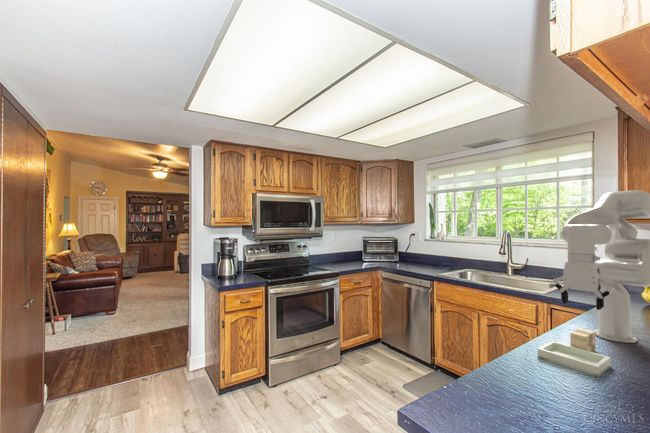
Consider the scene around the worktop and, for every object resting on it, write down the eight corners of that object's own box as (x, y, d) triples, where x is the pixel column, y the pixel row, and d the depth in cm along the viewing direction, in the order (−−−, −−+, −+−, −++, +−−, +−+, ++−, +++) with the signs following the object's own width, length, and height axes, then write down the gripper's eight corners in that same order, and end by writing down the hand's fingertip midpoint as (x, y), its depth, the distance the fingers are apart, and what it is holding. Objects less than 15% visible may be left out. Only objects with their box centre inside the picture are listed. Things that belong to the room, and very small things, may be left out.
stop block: (580, 346, 112) (579, 327, 112) (595, 351, 108) (595, 331, 108) (570, 352, 107) (570, 332, 107) (586, 357, 103) (586, 336, 104)
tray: (552, 349, 110) (552, 340, 110) (610, 366, 96) (610, 357, 96) (537, 357, 103) (537, 348, 103) (598, 377, 90) (598, 367, 90)
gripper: (616, 260, 103) (617, 310, 103) (556, 255, 118) (557, 299, 117) (609, 261, 99) (610, 313, 99) (548, 256, 114) (549, 302, 113)
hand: (581, 305), depth 108 cm, fingers open, 9 cm apart
